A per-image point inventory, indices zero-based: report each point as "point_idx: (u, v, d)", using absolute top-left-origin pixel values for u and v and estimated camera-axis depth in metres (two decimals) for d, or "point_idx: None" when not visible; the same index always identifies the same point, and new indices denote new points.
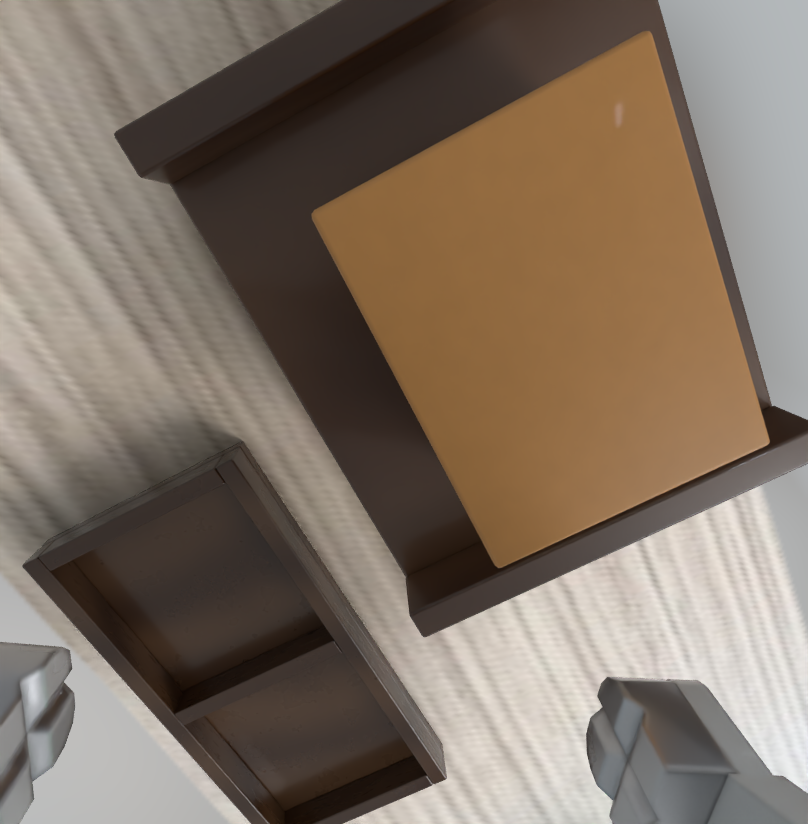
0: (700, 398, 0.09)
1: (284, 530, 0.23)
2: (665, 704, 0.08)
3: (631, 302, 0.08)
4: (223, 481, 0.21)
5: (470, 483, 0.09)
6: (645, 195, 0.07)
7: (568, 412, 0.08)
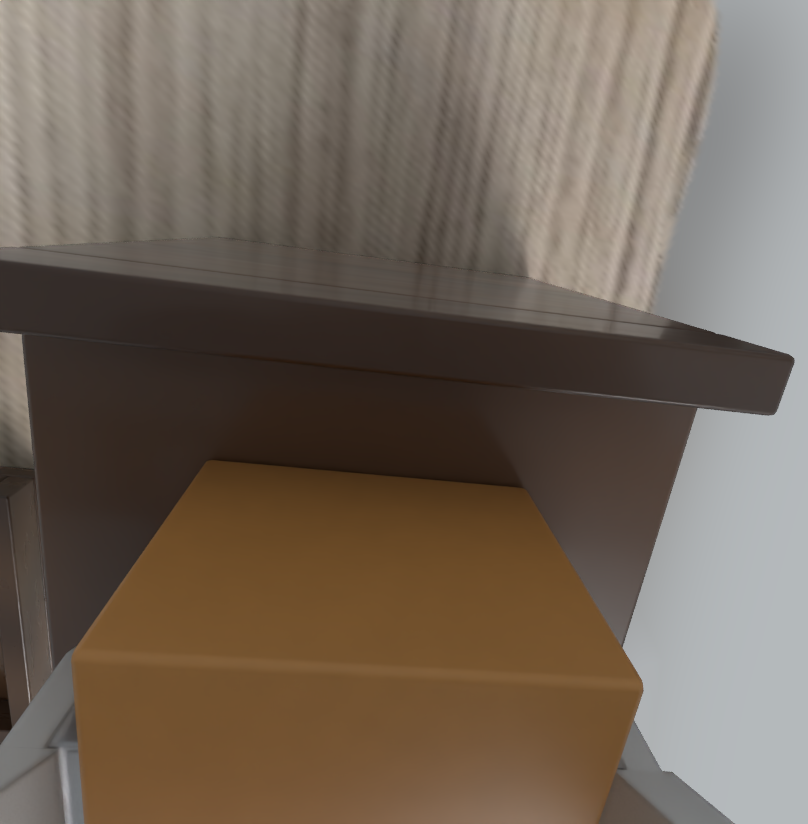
0: None
1: (26, 593, 0.18)
2: None
3: None
4: None
5: None
6: None
7: None
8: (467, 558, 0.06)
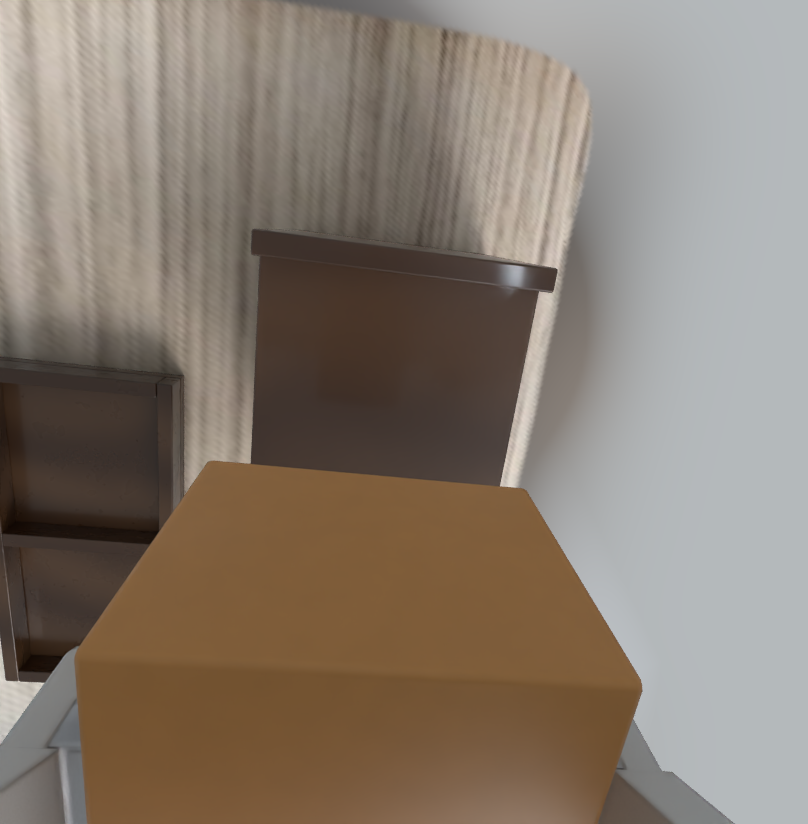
0: None
1: (174, 451, 0.29)
2: None
3: None
4: (156, 395, 0.28)
5: None
6: None
7: None
8: (467, 558, 0.06)
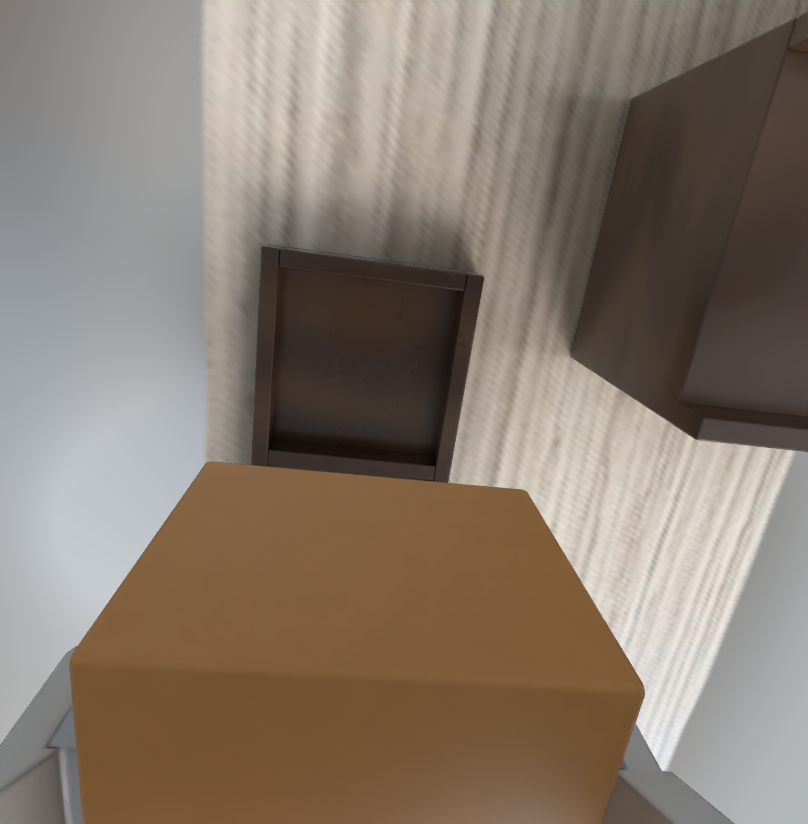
0: None
1: None
2: None
3: None
4: (464, 288, 0.25)
5: None
6: None
7: None
8: (467, 560, 0.06)
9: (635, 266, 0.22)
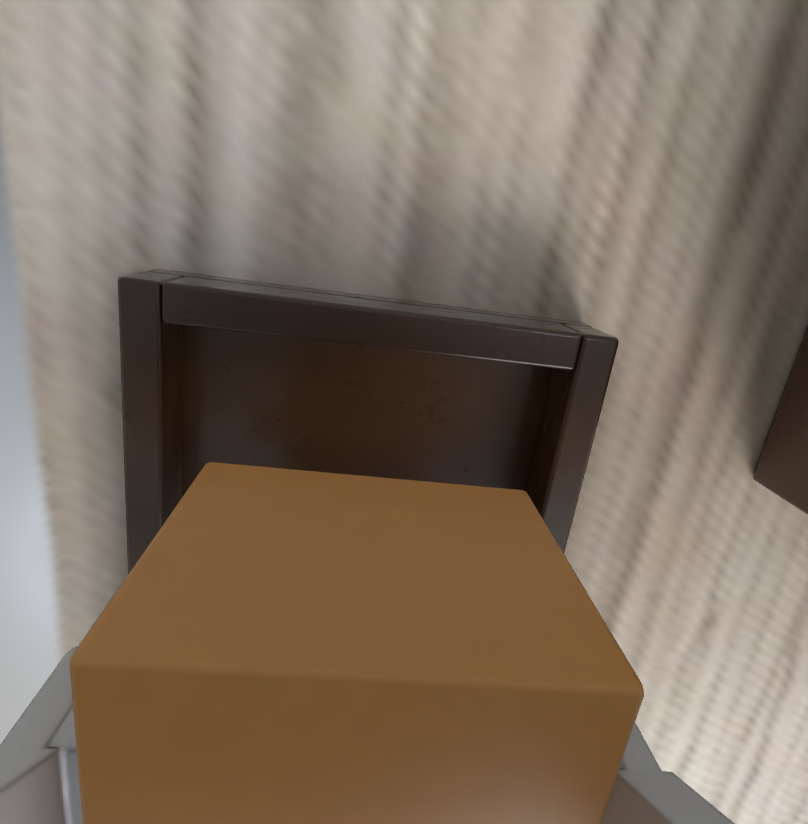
0: None
1: None
2: None
3: None
4: (575, 365, 0.11)
5: None
6: None
7: None
8: (467, 561, 0.06)
9: None
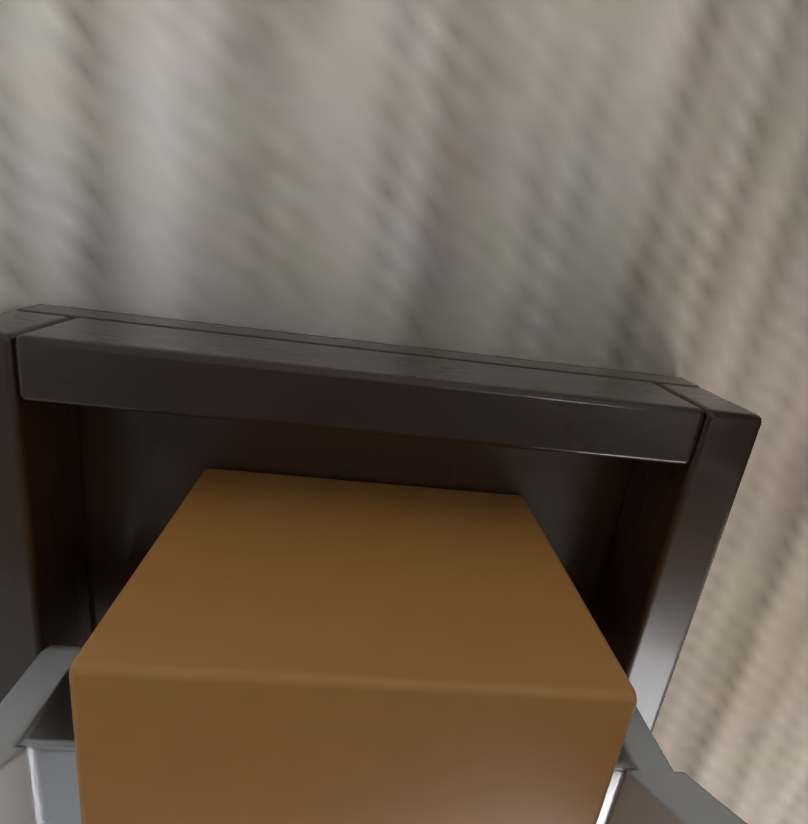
0: None
1: None
2: None
3: None
4: (690, 457, 0.07)
5: None
6: None
7: None
8: (463, 567, 0.06)
9: None
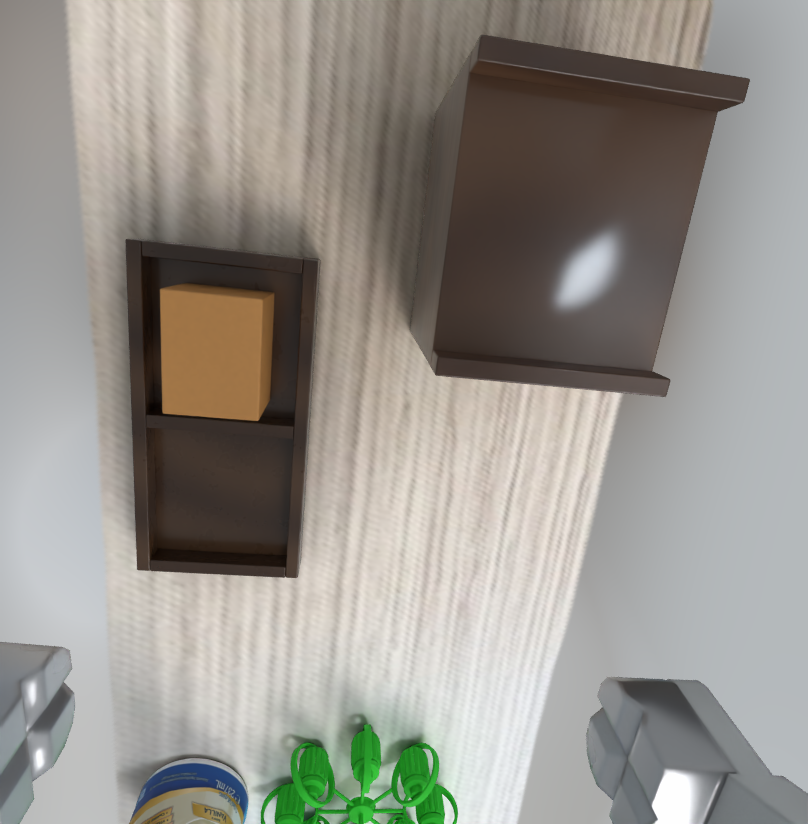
0: (242, 395, 0.28)
1: (313, 331, 0.31)
2: (665, 704, 0.08)
3: (233, 358, 0.28)
4: (302, 271, 0.29)
5: (166, 382, 0.28)
6: (247, 334, 0.27)
7: (204, 378, 0.28)
8: (242, 292, 0.29)
9: (428, 247, 0.27)
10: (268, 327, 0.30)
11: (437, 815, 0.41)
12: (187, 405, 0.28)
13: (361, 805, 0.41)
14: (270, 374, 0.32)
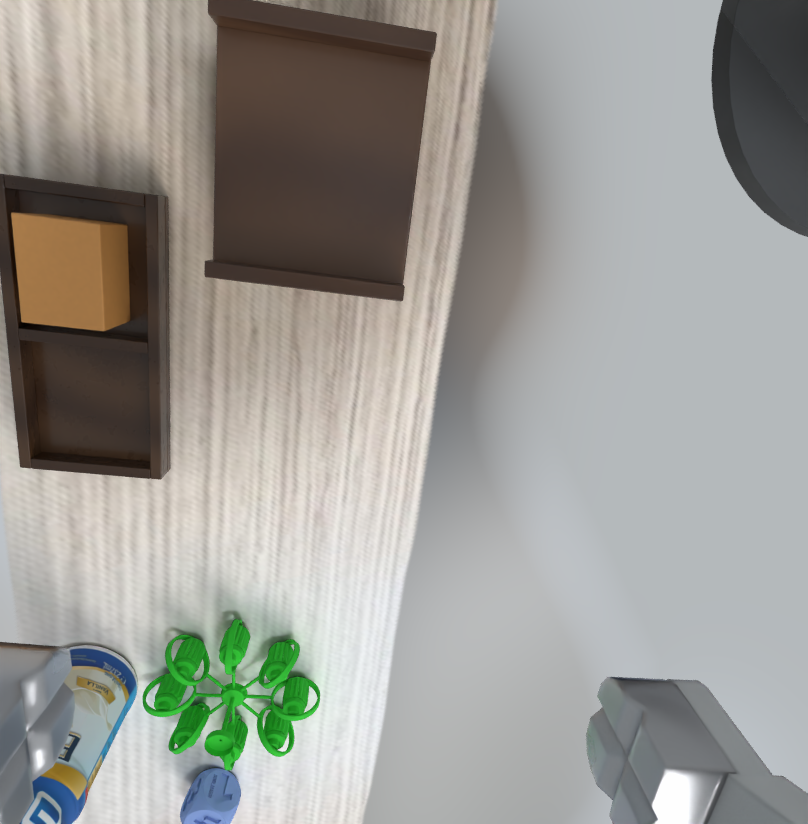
0: (88, 308, 0.34)
1: (160, 258, 0.36)
2: (665, 704, 0.08)
3: (78, 275, 0.33)
4: (144, 204, 0.34)
5: (23, 294, 0.33)
6: (88, 254, 0.33)
7: (54, 291, 0.33)
8: (90, 221, 0.34)
9: None
10: (116, 252, 0.35)
11: (298, 700, 0.46)
12: (42, 315, 0.34)
13: (232, 689, 0.47)
14: (128, 297, 0.37)
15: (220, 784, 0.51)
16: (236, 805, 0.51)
